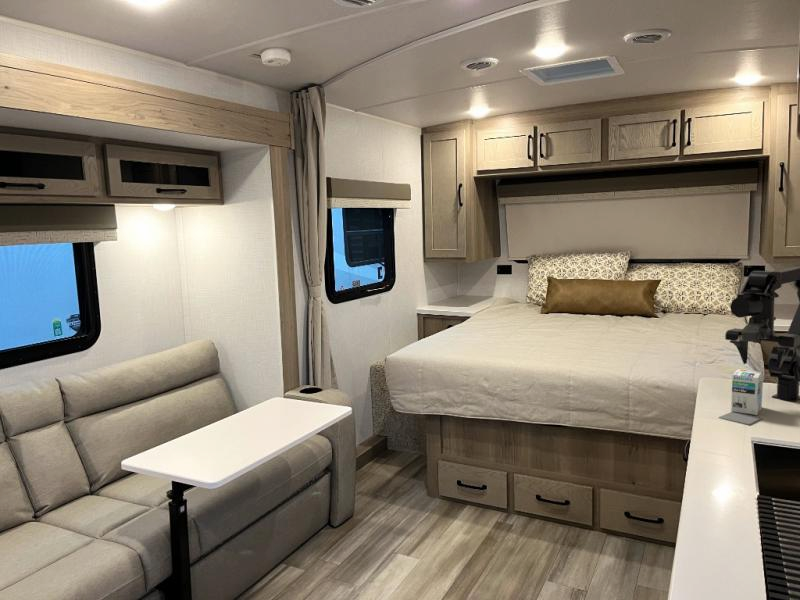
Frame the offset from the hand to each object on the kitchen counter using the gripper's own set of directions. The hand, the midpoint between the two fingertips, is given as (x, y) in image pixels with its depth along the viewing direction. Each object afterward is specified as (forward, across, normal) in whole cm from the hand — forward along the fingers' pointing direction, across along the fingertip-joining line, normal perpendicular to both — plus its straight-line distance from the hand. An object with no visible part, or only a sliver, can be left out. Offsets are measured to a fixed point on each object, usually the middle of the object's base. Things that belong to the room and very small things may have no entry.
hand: (761, 366), depth 178 cm
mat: (+12, +2, -18) cm, 21 cm away
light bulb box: (+12, 0, -9) cm, 14 cm away
